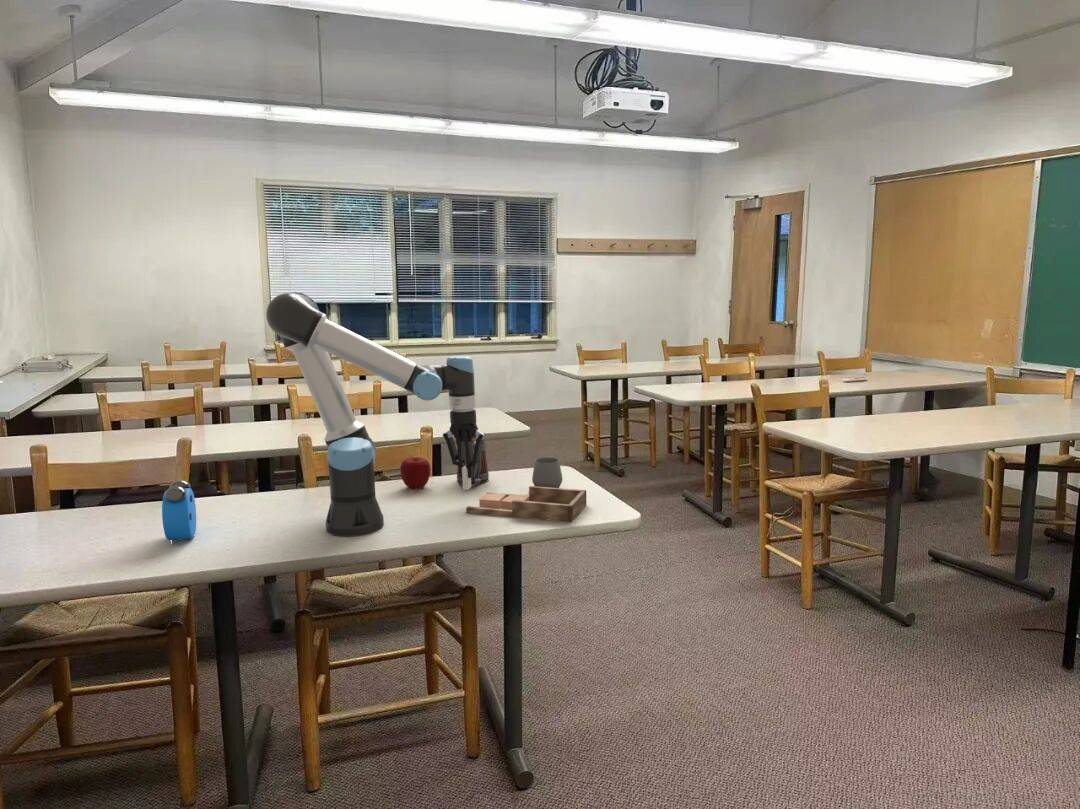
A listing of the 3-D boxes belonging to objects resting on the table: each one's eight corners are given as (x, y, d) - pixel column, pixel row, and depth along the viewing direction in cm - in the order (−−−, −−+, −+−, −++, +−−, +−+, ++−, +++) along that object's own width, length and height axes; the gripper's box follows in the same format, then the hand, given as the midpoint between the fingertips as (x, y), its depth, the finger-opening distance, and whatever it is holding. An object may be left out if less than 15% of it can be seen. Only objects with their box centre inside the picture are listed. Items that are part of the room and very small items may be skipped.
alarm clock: (174, 532, 191) (167, 478, 188) (199, 529, 193) (193, 475, 190) (165, 549, 179) (158, 491, 176) (192, 545, 181) (186, 488, 178)
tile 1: (479, 509, 206) (479, 499, 206) (486, 503, 212) (486, 493, 211) (499, 510, 205) (499, 500, 204) (505, 504, 210) (505, 494, 210)
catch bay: (466, 512, 203) (465, 497, 202) (487, 496, 217) (486, 482, 216) (571, 522, 193) (571, 506, 192) (586, 505, 207) (586, 490, 206)
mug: (454, 478, 238) (452, 434, 236) (485, 475, 241) (483, 432, 239) (463, 491, 224) (461, 444, 221) (496, 487, 227) (494, 441, 224)
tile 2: (501, 510, 204) (501, 500, 204) (510, 504, 210) (510, 494, 209) (520, 513, 202) (520, 502, 202) (529, 506, 208) (528, 496, 207)
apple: (418, 493, 222) (416, 462, 220) (394, 489, 227) (393, 459, 225) (437, 485, 230) (435, 455, 228) (414, 482, 235) (412, 452, 233)
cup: (529, 495, 218) (529, 463, 216) (535, 486, 227) (534, 456, 225) (560, 496, 216) (559, 464, 214) (564, 487, 225) (564, 456, 223)
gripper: (436, 411, 205) (441, 490, 209) (478, 412, 200) (482, 493, 205) (447, 406, 212) (452, 483, 216) (488, 407, 207) (492, 485, 212)
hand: (467, 488), depth 210 cm, fingers closed
